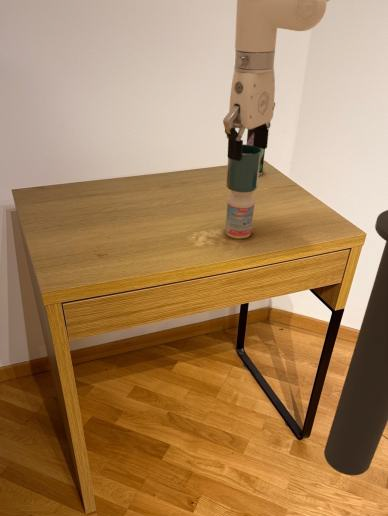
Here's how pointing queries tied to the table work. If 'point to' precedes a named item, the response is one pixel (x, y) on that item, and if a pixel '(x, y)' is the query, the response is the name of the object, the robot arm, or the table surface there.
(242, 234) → the pill bottle
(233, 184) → the cup
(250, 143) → the spray can
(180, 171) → the table surface
